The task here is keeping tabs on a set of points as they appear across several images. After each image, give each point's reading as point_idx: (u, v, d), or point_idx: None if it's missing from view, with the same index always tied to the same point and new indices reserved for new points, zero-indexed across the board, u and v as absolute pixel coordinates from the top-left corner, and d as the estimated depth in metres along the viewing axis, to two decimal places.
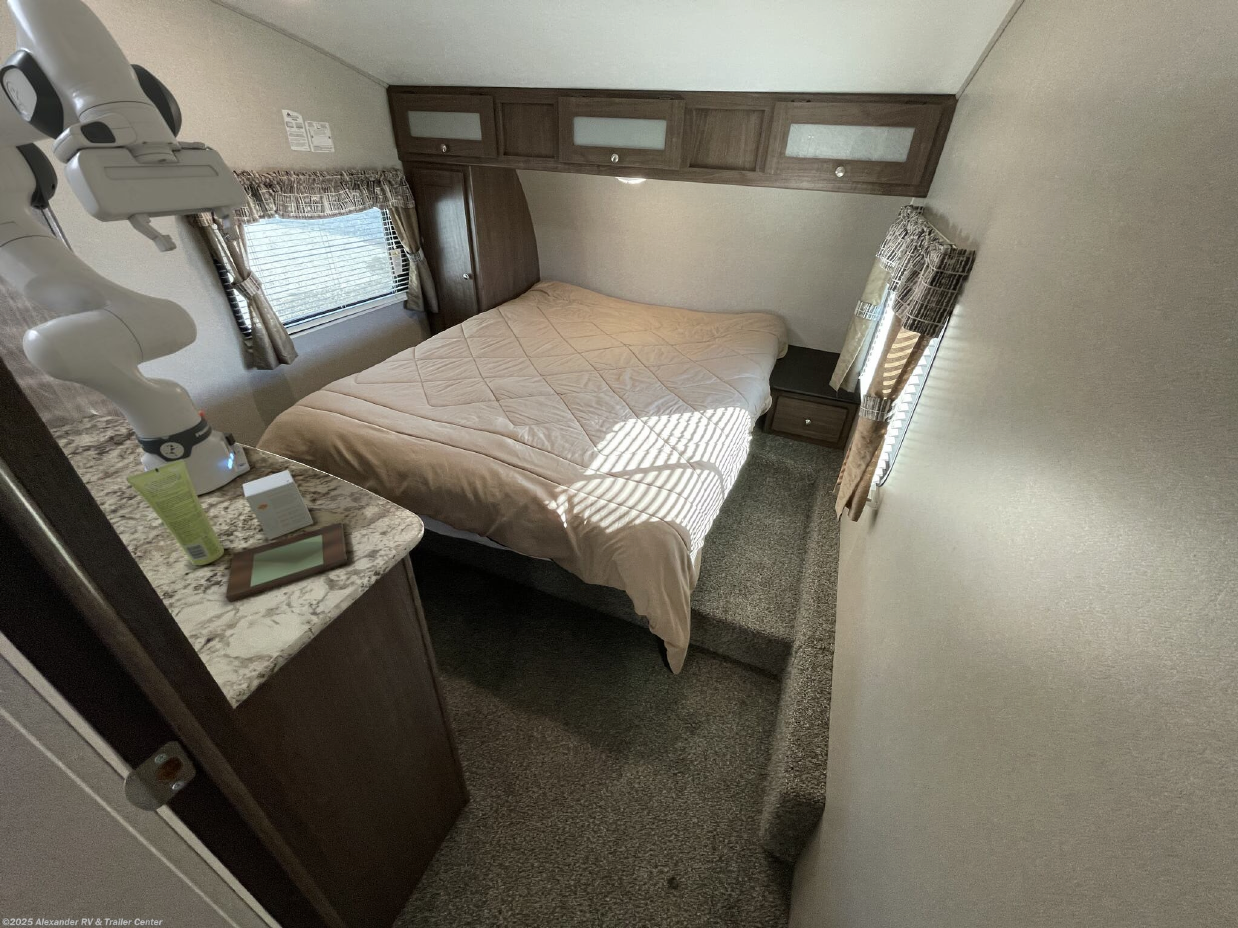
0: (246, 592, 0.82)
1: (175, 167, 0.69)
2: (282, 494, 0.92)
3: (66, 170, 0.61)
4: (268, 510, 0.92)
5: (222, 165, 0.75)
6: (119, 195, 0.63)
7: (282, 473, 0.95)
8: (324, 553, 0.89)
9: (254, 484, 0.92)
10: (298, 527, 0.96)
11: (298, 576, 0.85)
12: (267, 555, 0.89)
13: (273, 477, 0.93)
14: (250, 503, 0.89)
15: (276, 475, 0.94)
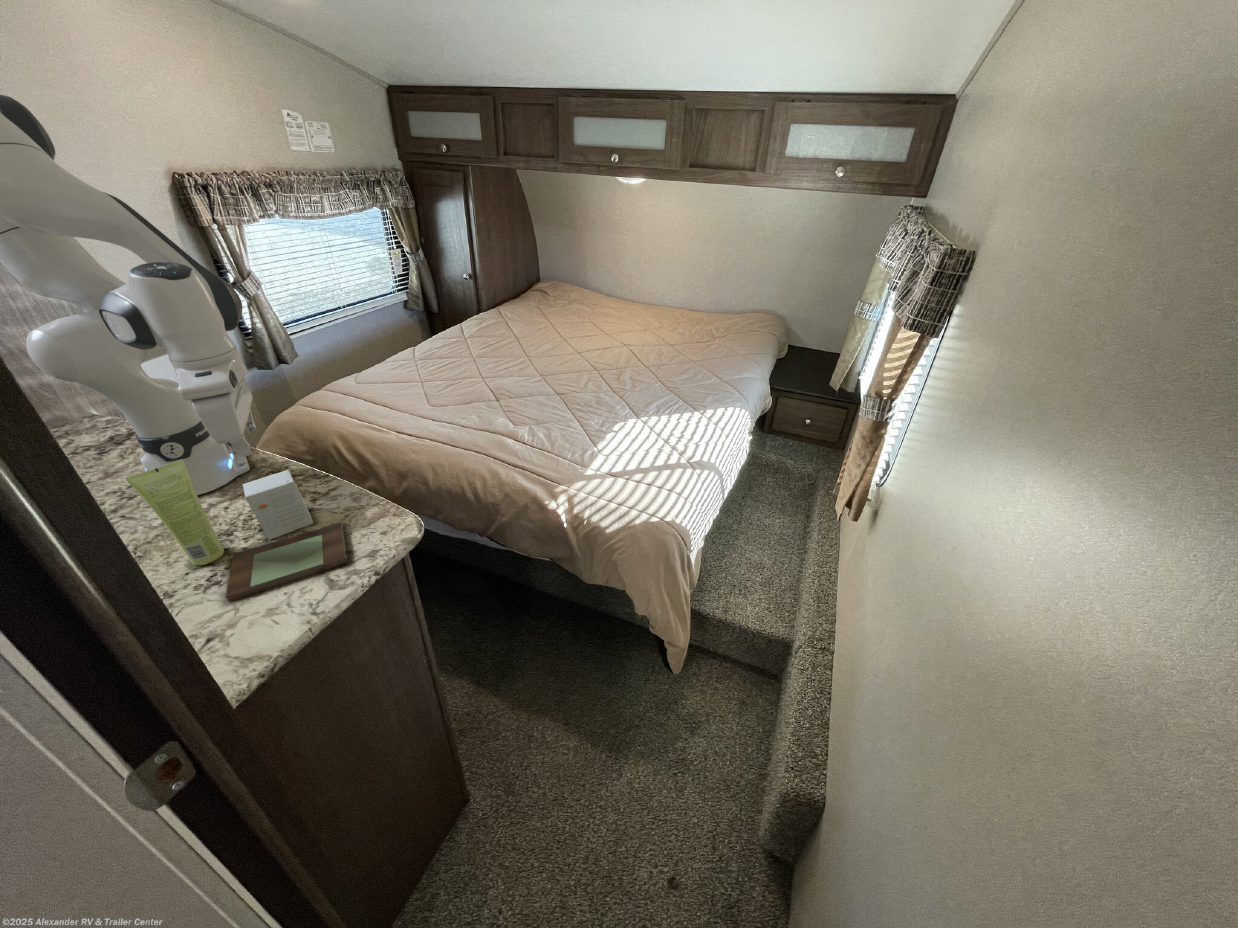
0: (246, 592, 0.82)
1: None
2: (282, 494, 0.92)
3: (203, 408, 0.74)
4: (268, 510, 0.92)
5: None
6: (240, 422, 0.79)
7: (282, 473, 0.95)
8: (324, 553, 0.89)
9: (254, 484, 0.92)
10: (298, 527, 0.96)
11: (298, 576, 0.85)
12: (267, 555, 0.89)
13: (273, 477, 0.93)
14: (250, 503, 0.89)
15: (276, 475, 0.94)
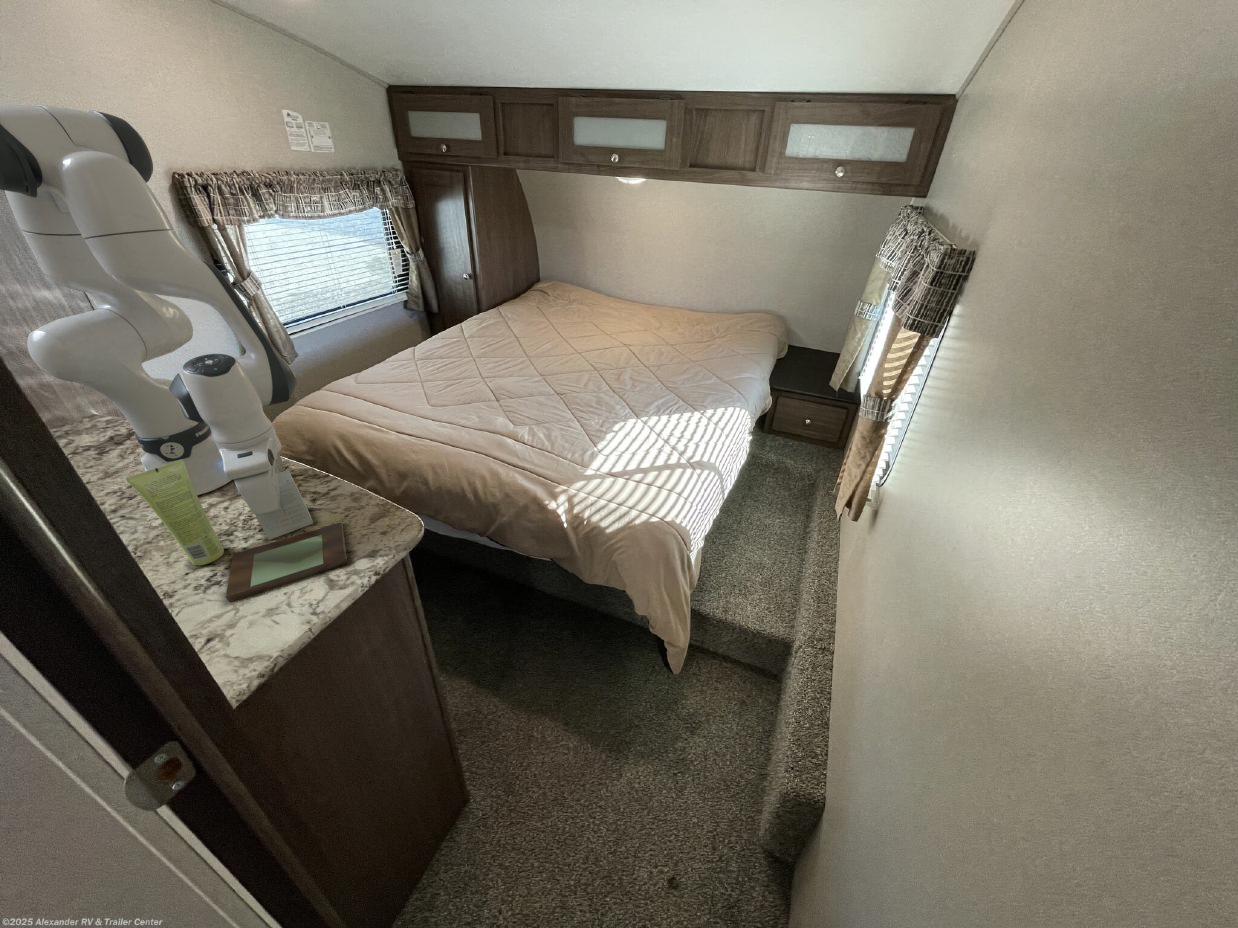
0: (246, 592, 0.82)
1: None
2: (282, 494, 0.92)
3: (244, 486, 0.82)
4: None
5: None
6: (276, 494, 0.87)
7: (282, 473, 0.95)
8: (324, 553, 0.89)
9: None
10: (298, 527, 0.96)
11: (298, 576, 0.85)
12: (267, 555, 0.89)
13: None
14: None
15: None
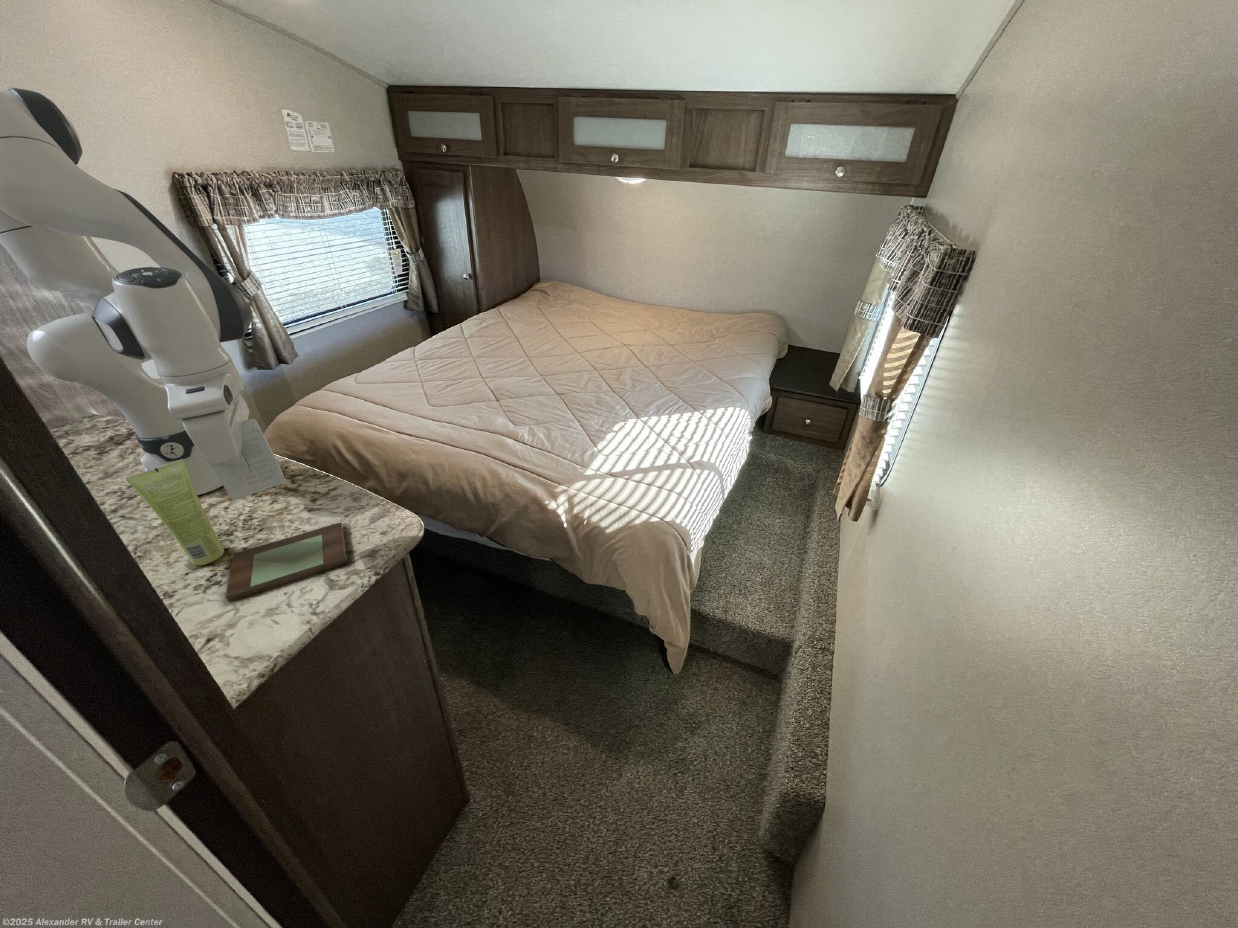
0: (246, 592, 0.82)
1: None
2: (246, 444, 0.78)
3: (194, 428, 0.68)
4: None
5: None
6: (235, 441, 0.72)
7: (247, 422, 0.80)
8: (324, 553, 0.89)
9: None
10: (268, 486, 0.82)
11: (298, 576, 0.85)
12: (267, 555, 0.89)
13: None
14: None
15: None
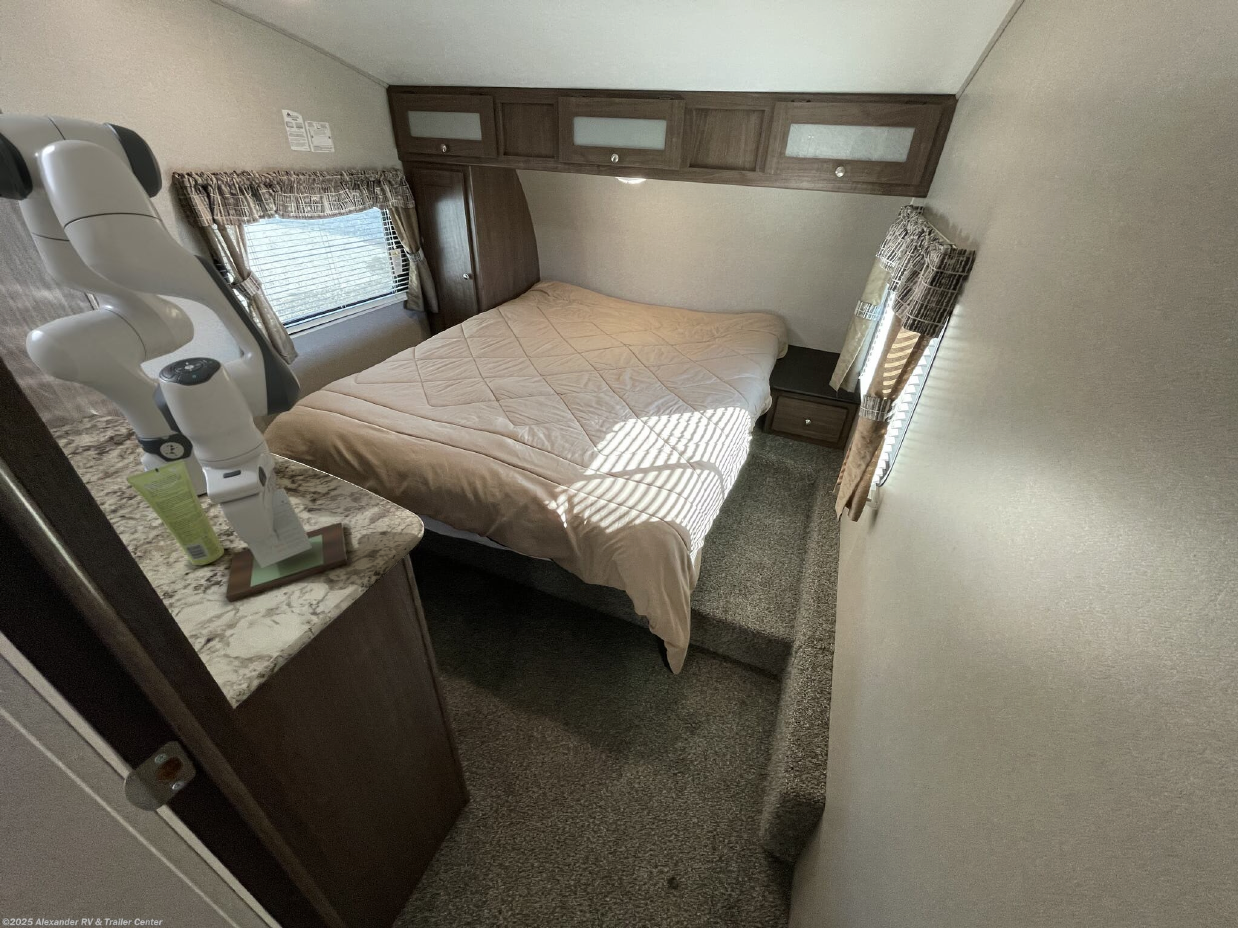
0: (246, 592, 0.82)
1: None
2: (276, 516, 0.81)
3: (232, 511, 0.71)
4: None
5: None
6: (268, 519, 0.76)
7: (276, 492, 0.83)
8: (324, 553, 0.89)
9: None
10: (295, 553, 0.85)
11: (298, 576, 0.85)
12: None
13: None
14: None
15: None
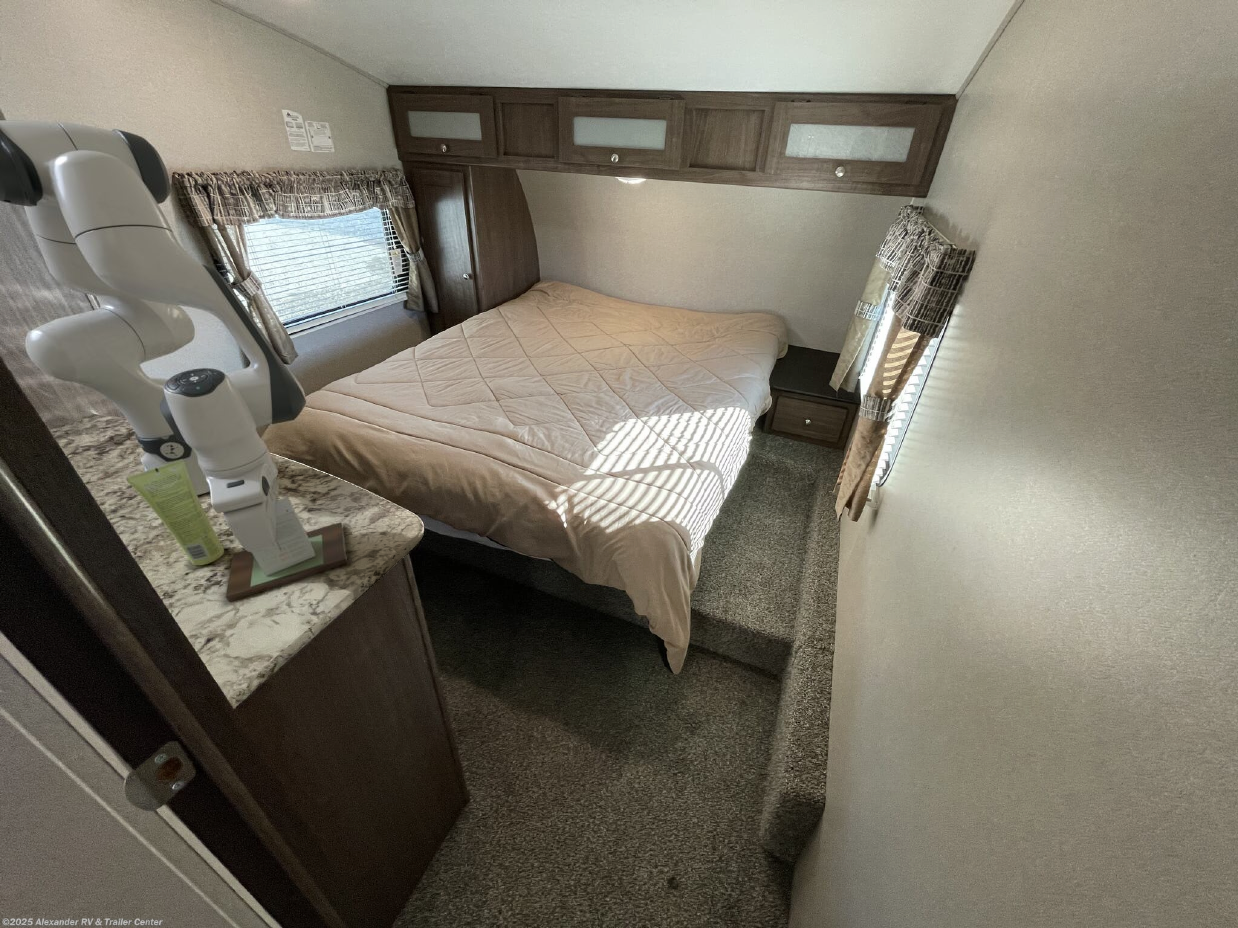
0: (246, 592, 0.82)
1: None
2: (281, 525, 0.82)
3: (235, 521, 0.72)
4: None
5: None
6: (271, 527, 0.77)
7: (281, 501, 0.85)
8: (324, 553, 0.89)
9: None
10: (299, 561, 0.86)
11: (298, 576, 0.85)
12: None
13: None
14: None
15: None
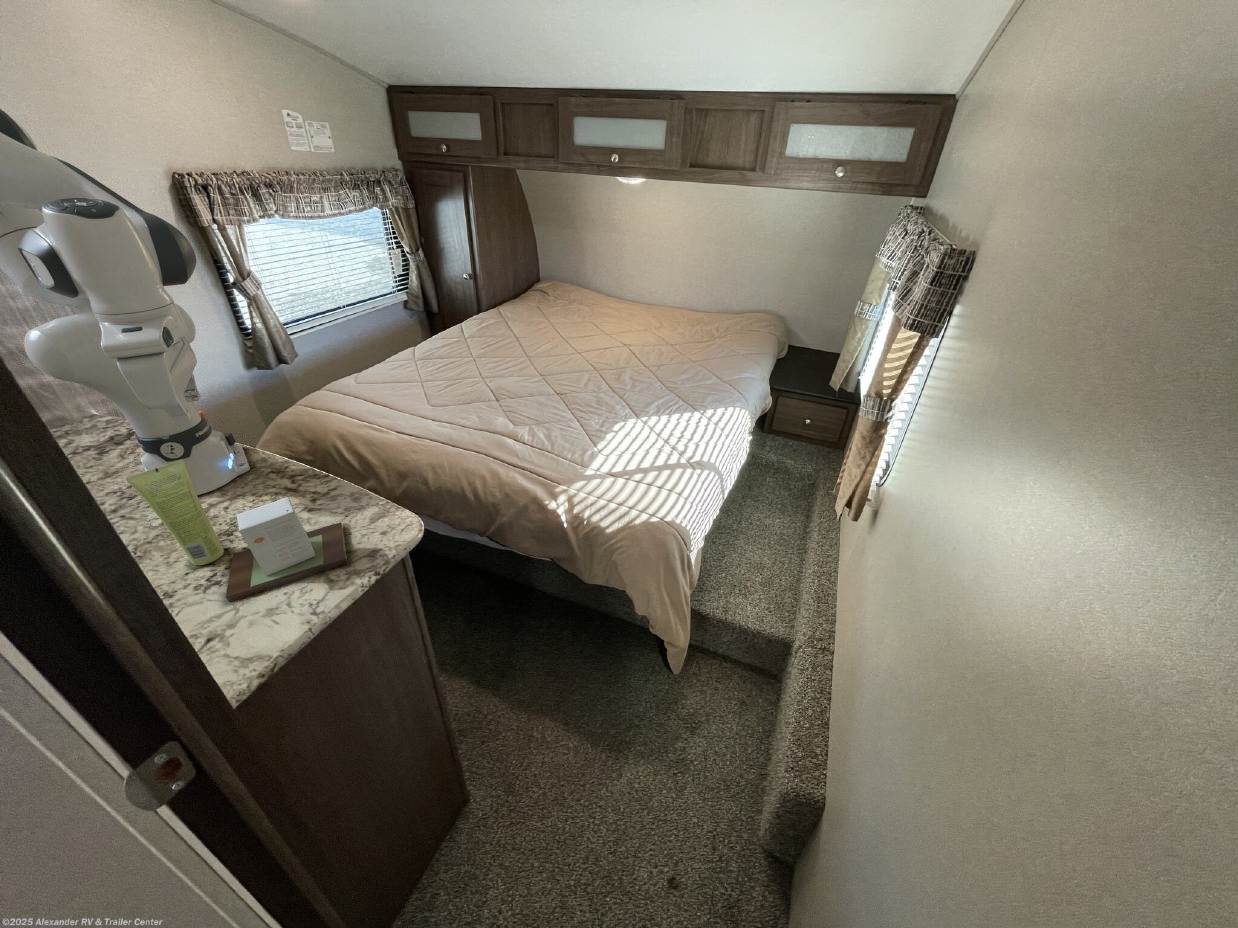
0: (246, 592, 0.82)
1: None
2: (281, 525, 0.82)
3: (130, 369, 0.65)
4: (266, 543, 0.82)
5: None
6: (176, 387, 0.70)
7: (281, 501, 0.85)
8: (324, 553, 0.89)
9: (249, 514, 0.82)
10: (299, 561, 0.86)
11: (298, 576, 0.85)
12: None
13: (270, 506, 0.83)
14: (245, 537, 0.79)
15: (274, 503, 0.84)
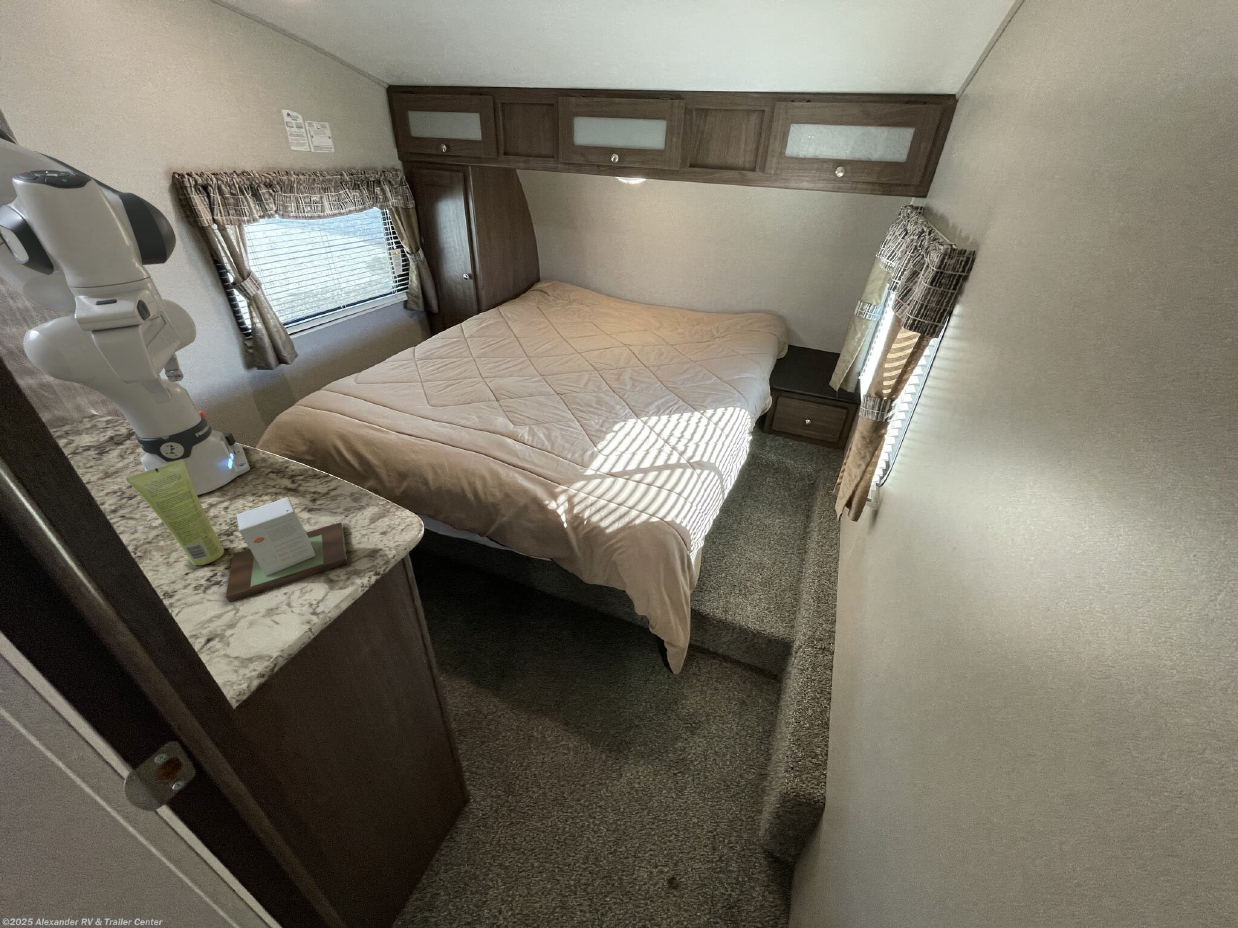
0: (246, 592, 0.82)
1: None
2: (281, 525, 0.82)
3: (104, 341, 0.65)
4: (266, 543, 0.82)
5: (164, 312, 0.80)
6: (153, 361, 0.70)
7: (281, 501, 0.85)
8: (324, 553, 0.89)
9: (249, 514, 0.82)
10: (299, 561, 0.86)
11: (298, 576, 0.85)
12: None
13: (270, 506, 0.83)
14: (245, 537, 0.79)
15: (274, 503, 0.84)
